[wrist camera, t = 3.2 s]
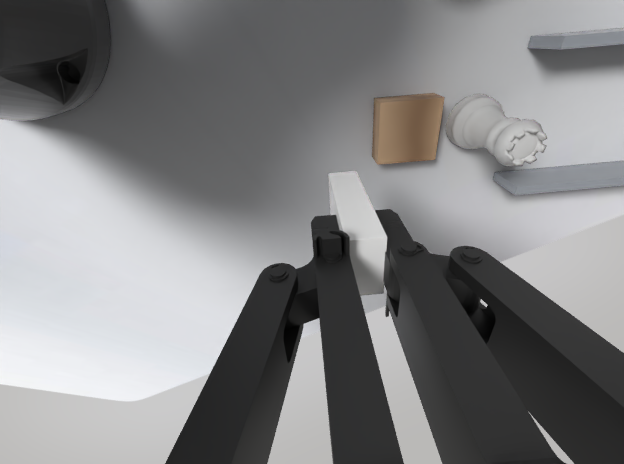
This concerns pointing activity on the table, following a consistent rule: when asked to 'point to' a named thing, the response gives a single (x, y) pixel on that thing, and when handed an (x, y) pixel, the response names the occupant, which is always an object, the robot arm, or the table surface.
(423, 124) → the walnut tile
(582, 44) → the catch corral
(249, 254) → the table surface
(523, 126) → the rook chess piece
